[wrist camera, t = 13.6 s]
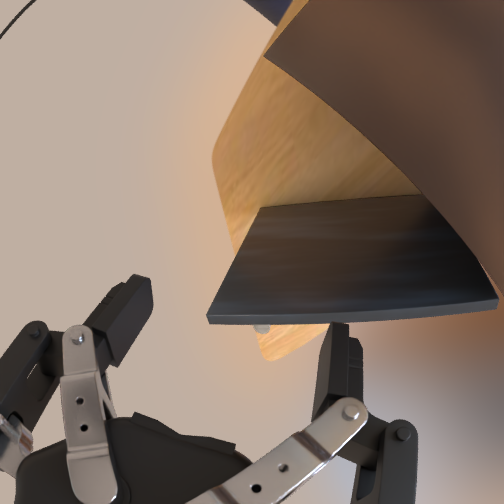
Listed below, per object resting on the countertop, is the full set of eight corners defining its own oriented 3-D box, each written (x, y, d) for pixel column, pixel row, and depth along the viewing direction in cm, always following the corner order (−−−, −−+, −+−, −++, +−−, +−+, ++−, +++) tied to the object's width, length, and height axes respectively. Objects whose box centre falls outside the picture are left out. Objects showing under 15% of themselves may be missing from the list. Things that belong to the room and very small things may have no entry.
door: (433, 236, 44) (481, 354, 24) (269, 248, 52) (225, 365, 32) (434, 193, 41) (499, 298, 21) (260, 207, 49) (205, 314, 29)
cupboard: (438, 193, 41) (505, 299, 21) (299, 66, 37) (262, 56, 17) (512, 114, 31) (624, 168, 11) (379, -23, 27) (422, -106, 7)
